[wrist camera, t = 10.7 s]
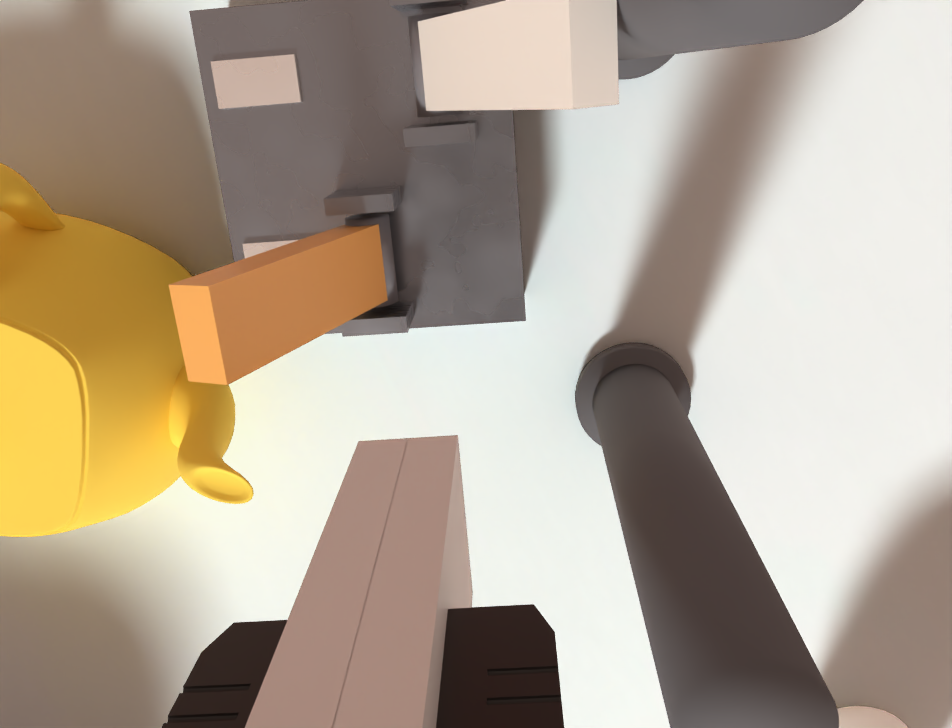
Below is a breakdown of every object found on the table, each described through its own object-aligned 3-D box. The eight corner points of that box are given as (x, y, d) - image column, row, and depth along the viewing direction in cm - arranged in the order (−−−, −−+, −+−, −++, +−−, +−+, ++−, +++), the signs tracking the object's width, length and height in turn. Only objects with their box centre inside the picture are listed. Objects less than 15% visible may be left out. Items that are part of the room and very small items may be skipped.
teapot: (345, 191, 35) (276, 240, 24) (302, 510, 40) (230, 661, 30) (-179, 87, 34) (-474, 92, 24) (-153, 424, 39) (-388, 548, 29)
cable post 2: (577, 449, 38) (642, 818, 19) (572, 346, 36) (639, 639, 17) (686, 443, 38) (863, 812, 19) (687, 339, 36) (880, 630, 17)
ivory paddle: (410, 117, 29) (570, 117, 20) (400, 18, 28) (564, -24, 19) (450, 112, 30) (622, 112, 21) (442, 16, 28) (619, -25, 20)
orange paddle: (370, 295, 32) (186, 387, 23) (359, 213, 31) (164, 277, 22) (406, 296, 31) (231, 392, 23) (396, 212, 30) (209, 278, 22)
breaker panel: (275, 311, 36) (230, 356, 31) (226, 18, 32) (164, 5, 27) (524, 294, 36) (526, 337, 30) (505, -7, 32) (504, -26, 26)
